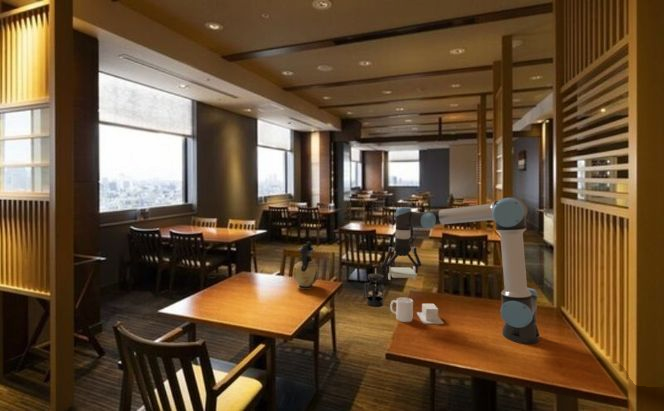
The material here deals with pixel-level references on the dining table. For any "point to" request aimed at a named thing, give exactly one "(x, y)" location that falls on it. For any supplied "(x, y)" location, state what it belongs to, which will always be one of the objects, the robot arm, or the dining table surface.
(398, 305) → the cup
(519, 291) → the robot arm
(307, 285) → the amphora
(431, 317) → the white butter dish
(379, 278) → the french press
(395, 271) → the white flat slab
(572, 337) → the dining table surface
